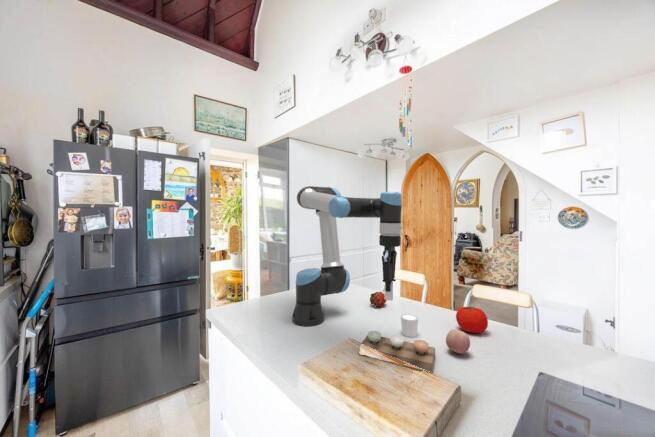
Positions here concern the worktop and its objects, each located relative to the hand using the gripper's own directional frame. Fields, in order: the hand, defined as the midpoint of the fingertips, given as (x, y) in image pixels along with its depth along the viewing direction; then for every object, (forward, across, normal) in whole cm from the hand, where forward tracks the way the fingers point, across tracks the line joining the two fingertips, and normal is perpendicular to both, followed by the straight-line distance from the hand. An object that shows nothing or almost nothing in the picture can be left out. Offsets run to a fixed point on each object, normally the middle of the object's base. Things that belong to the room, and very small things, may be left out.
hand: (388, 299), depth 95 cm
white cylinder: (+19, +16, -5) cm, 26 cm away
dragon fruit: (+20, +44, +16) cm, 51 cm away
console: (+18, -3, -4) cm, 19 cm away
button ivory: (+18, -3, -4) cm, 18 cm away
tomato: (+18, +32, -28) cm, 46 cm away
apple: (+18, +8, -23) cm, 31 cm away
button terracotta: (+18, -3, -12) cm, 21 cm away
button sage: (+18, -3, +4) cm, 19 cm away
